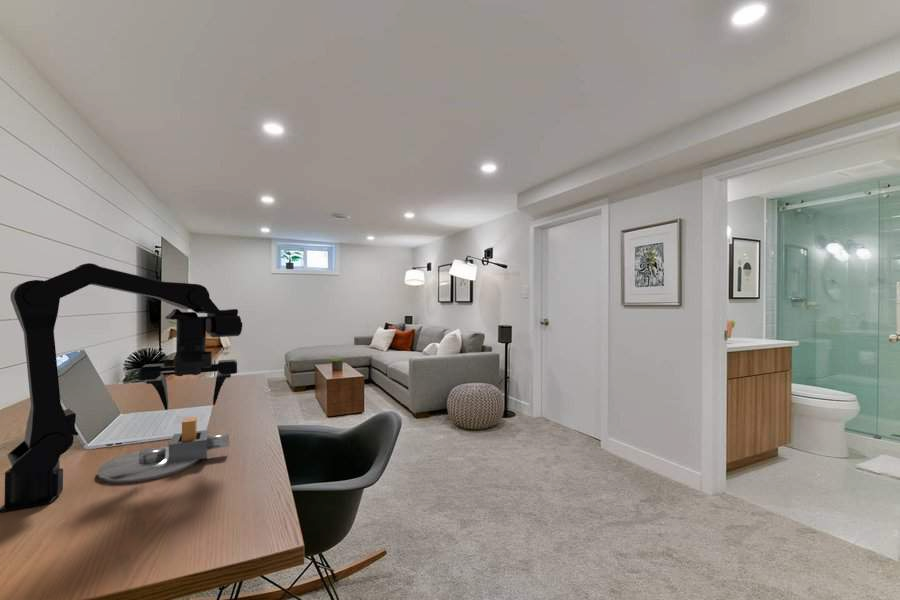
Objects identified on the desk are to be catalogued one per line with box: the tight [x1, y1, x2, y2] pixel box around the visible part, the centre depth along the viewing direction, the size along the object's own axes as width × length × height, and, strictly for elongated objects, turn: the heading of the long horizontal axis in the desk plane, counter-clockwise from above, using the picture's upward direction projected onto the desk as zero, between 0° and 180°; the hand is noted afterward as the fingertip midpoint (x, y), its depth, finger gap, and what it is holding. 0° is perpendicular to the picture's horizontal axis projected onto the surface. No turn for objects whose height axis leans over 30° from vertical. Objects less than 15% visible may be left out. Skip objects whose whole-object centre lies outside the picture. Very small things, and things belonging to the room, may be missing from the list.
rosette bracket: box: [97, 429, 230, 484], centre depth 90 cm, size 24×18×5 cm
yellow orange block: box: [181, 416, 198, 441], centre depth 92 cm, size 2×4×8 cm, turn 28°
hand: (190, 407), depth 92 cm, fingers open, 9 cm apart
